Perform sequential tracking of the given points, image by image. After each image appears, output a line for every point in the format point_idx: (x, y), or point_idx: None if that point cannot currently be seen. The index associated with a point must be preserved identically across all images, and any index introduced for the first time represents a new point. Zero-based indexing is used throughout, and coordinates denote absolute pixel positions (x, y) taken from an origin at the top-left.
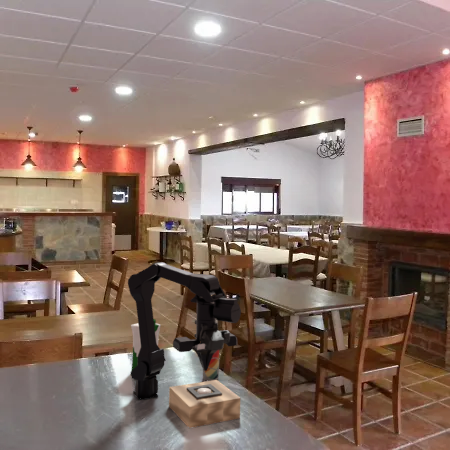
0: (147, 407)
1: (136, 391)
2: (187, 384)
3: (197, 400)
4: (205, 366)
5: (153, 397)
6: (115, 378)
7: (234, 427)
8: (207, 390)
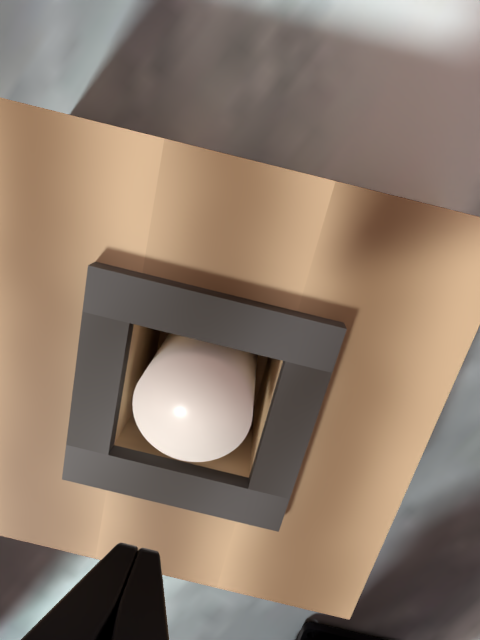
0: (432, 563)
1: None
2: (208, 582)
3: (359, 300)
4: (133, 602)
5: (331, 627)
6: None
7: (187, 15)
8: (167, 392)
